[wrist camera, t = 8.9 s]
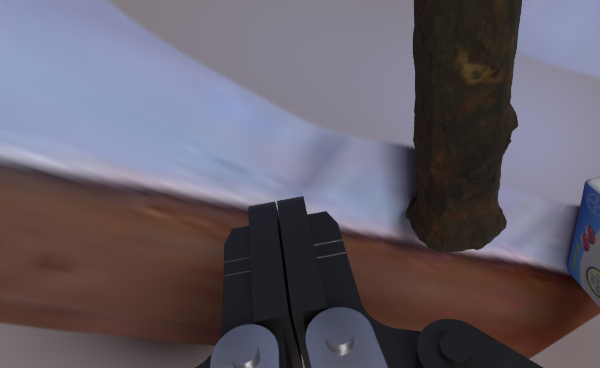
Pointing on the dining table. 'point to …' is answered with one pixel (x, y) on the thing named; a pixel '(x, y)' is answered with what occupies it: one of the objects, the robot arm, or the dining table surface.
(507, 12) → the dark brown rod
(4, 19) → the dining table surface
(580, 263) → the medicine box
